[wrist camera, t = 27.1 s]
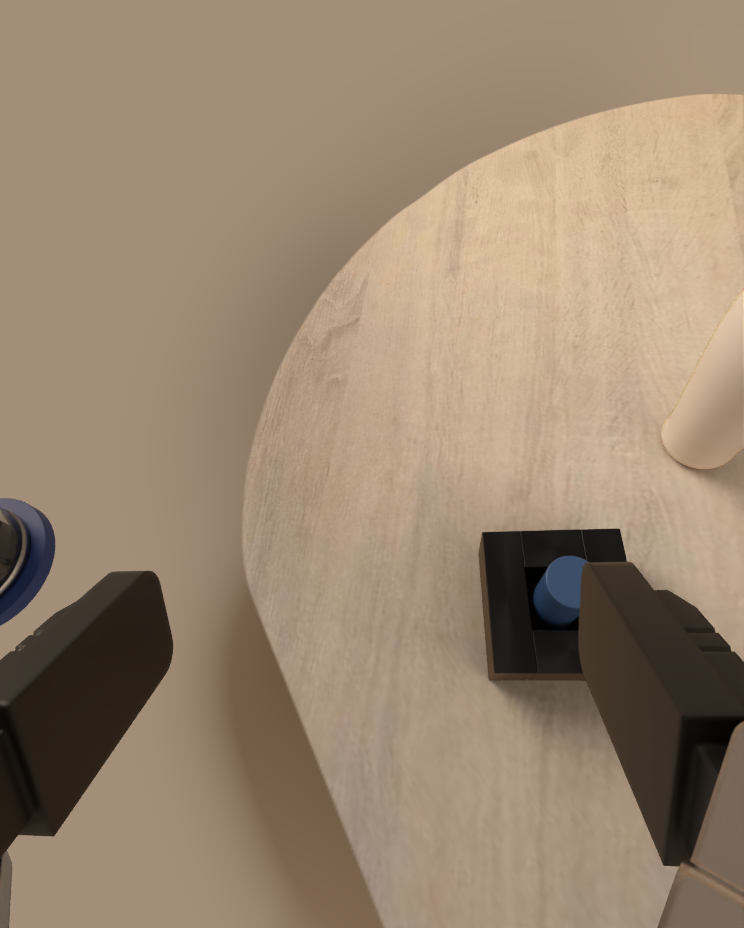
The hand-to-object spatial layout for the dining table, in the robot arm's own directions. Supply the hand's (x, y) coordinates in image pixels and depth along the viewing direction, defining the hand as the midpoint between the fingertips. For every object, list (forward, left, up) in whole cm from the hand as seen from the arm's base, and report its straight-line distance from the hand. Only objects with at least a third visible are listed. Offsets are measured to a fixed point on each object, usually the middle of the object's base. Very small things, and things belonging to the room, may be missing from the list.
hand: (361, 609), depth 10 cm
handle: (+9, +6, -29) cm, 31 cm away
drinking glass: (+22, +19, -29) cm, 41 cm away
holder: (+9, +6, -29) cm, 31 cm away
